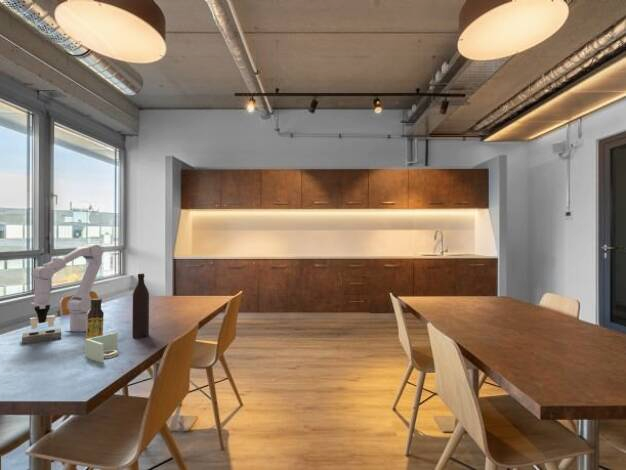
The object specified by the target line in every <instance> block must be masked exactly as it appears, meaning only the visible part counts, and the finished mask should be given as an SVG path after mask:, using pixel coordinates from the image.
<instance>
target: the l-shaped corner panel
mask: <svg viewBox="0 0 626 470" xmlns="http://www.w3.org/2000/svg"><path fill="white" fill-rule="evenodd" d="M84 346H85V347H84V348H85V351H84V353H85V354H84V355H85V358H87V359H90V360H92V359H93V361H95V362H98V363H100V364H102V363H104V361H105V359H112V358H116V356H117V355H118V353H119V351H118V332H112V333H108V334H103V335H102V336H98V337H93V338H89V339H86V338H85V344H84Z"/></svg>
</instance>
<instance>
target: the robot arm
mask: <svg viewBox="0 0 626 470" xmlns="http://www.w3.org/2000/svg"><path fill="white" fill-rule="evenodd" d="M103 254H104V250H103V248H102V246H101V245H100V244H86V243H85V244H82V245H80V246H77V247H76V248H75V249H74V250H72V251H71V252H68V253H67V254H66V255H64V256H62V257H53V258H52V260H50V261H49V262H47V263H43V264H42V266H37V267H34V268H33V271H32V272H31V277H32V278H33V279H34V281H33V282H34V302H31V305H34V311H35V312H36V315H37V317H38V320H39V324H43V323H46V322H45V321H46V317H47V316H48V312H49V311H50V309H51V305H50V304H51V302H52V301H51V278H53V277H54V275H55V274H56V273H58V272H59V271H61V270H63V269H65V268H66V267H67V264H68V263H70V262H72V261H74V260H76V259H78V258H80V257H83V258H84V259H85V260H86V262H87V263H88V264H87V267H86V269H85V272H84V275H83V277H82V279H81V281H80V284H79V287H78V289H77V291H76V292H75V293H74V294H72V296H71V298H70V299H69V300H68V301H67V303H66V309H67V310H68V311H69V329H67V330H65V332H78V333H79V332H87V319H88V313H89V311H90V309H91V299H92V297H91V296H90V294H91V291H92V289H93V285H94V283H95V280H96V277H97V275H98V273H99V270H100V268H101V266H102V259H103V258H102V256H103Z"/></svg>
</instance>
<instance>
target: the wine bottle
mask: <svg viewBox="0 0 626 470" xmlns="http://www.w3.org/2000/svg"><path fill="white" fill-rule="evenodd" d="M137 280H138V281H137V284H136V287H135V288H134V291H133V294H132V329H131V331H132V332H131V333H132V338H134V339H142V338H146V337H148V336H149V335H150V293H149V290H148V288H147V286H146V283H145V273H138V274H137Z"/></svg>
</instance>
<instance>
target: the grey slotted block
mask: <svg viewBox="0 0 626 470" xmlns="http://www.w3.org/2000/svg"><path fill="white" fill-rule="evenodd" d="M59 339H60V340H61V339H62V329H61V327H60V328H53V329H46V330H38V331H30V332H23V333H22V335H21V344H22V345H26V344H32V343H40V342H46V341H52V340H59Z"/></svg>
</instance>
